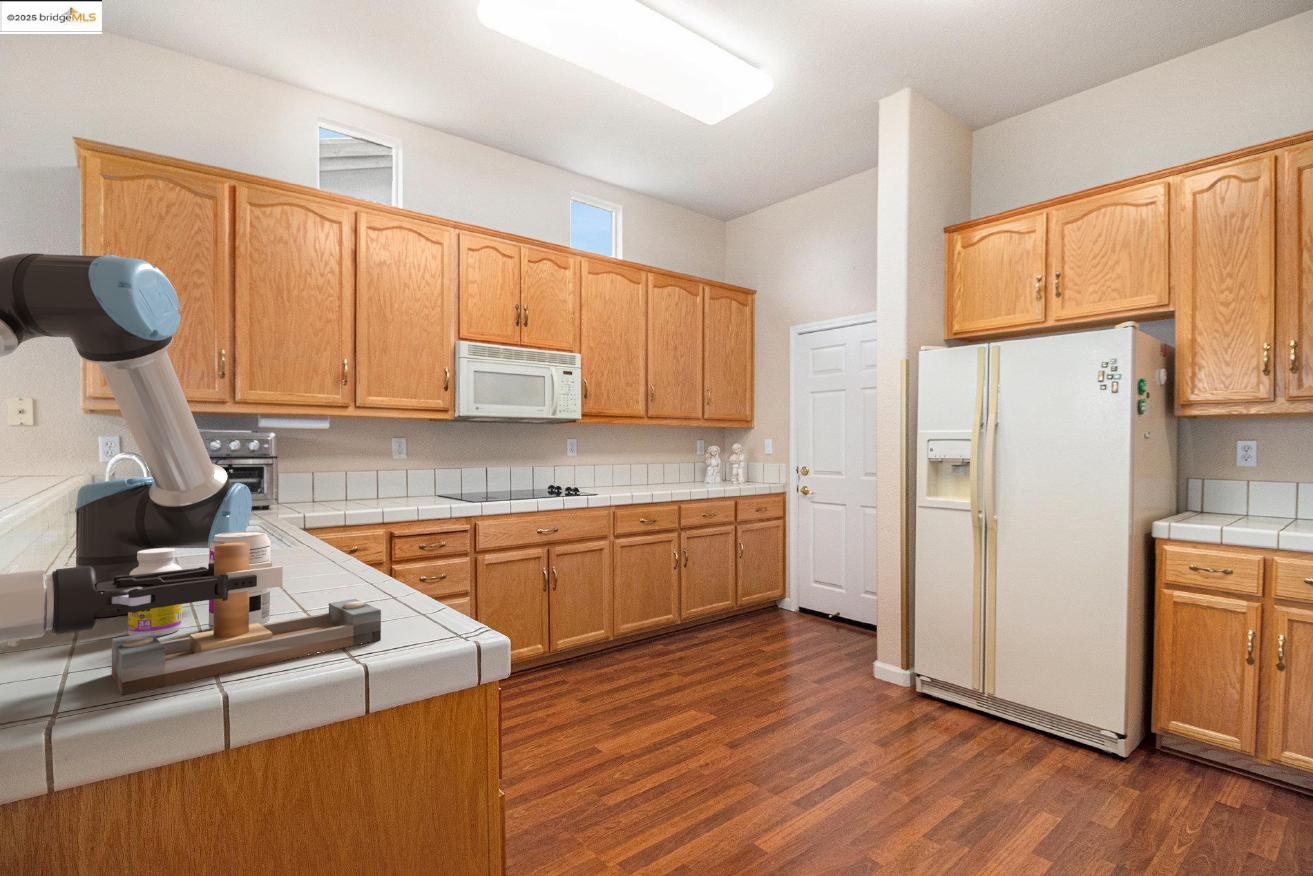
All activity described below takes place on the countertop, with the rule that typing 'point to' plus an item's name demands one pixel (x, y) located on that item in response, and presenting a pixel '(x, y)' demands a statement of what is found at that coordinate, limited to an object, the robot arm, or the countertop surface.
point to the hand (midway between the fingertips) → (275, 573)
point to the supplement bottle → (162, 617)
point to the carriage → (230, 606)
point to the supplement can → (258, 554)
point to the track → (240, 648)
